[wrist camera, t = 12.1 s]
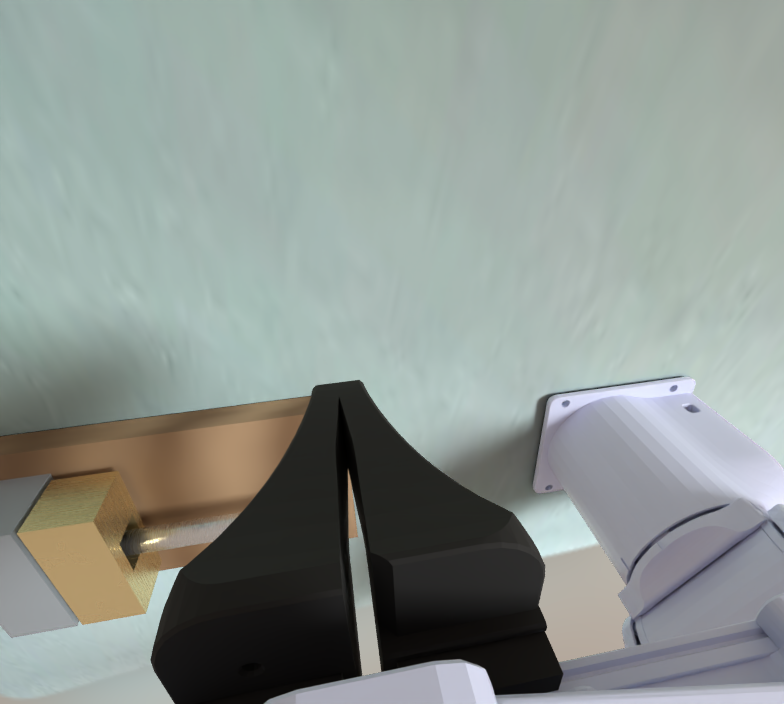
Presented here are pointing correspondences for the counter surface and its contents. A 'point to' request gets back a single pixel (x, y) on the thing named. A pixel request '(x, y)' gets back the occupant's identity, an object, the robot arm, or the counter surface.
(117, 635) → the counter surface
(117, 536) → the nut
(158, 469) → the base
